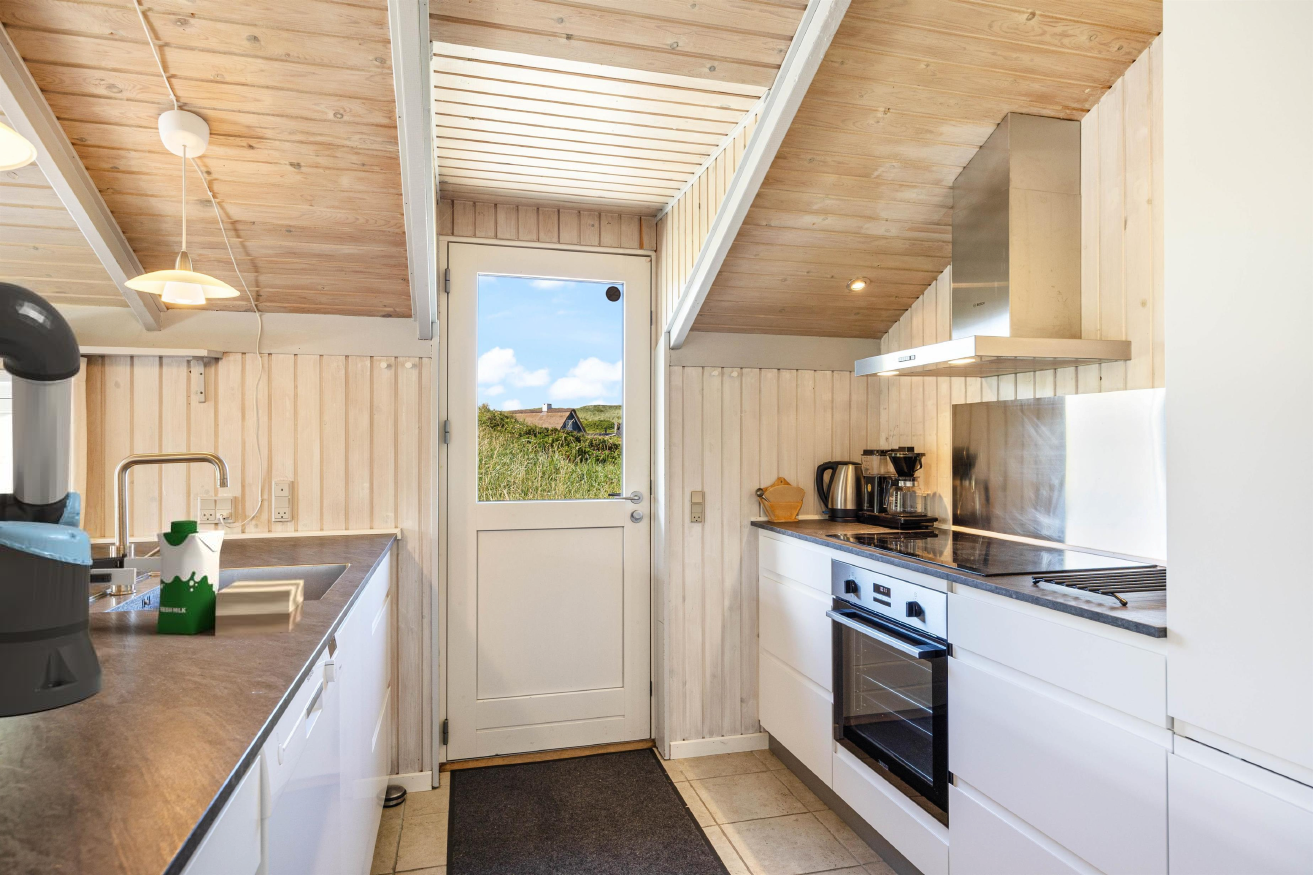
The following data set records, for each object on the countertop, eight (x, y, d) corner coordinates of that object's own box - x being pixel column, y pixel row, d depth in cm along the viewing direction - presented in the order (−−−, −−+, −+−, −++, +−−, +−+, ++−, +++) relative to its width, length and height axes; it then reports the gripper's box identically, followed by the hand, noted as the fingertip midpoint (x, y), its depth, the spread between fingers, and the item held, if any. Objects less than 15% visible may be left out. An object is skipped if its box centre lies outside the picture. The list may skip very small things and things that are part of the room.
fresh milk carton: (147, 634, 130) (151, 521, 130) (185, 622, 139) (188, 517, 139) (193, 636, 129) (197, 523, 129) (228, 624, 138) (231, 518, 138)
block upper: (289, 612, 133) (289, 590, 133) (215, 615, 130) (216, 593, 130) (303, 599, 145) (304, 579, 145) (236, 601, 142) (237, 580, 142)
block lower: (289, 635, 133) (289, 613, 133) (215, 638, 130) (215, 615, 130) (302, 619, 144) (302, 599, 144) (234, 622, 141) (235, 601, 141)
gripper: (47, 581, 139) (174, 578, 145) (-37, 610, 115) (120, 604, 121) (48, 542, 139) (175, 540, 145) (-35, 562, 115) (121, 559, 121)
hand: (150, 569), depth 133 cm, fingers open, 13 cm apart
